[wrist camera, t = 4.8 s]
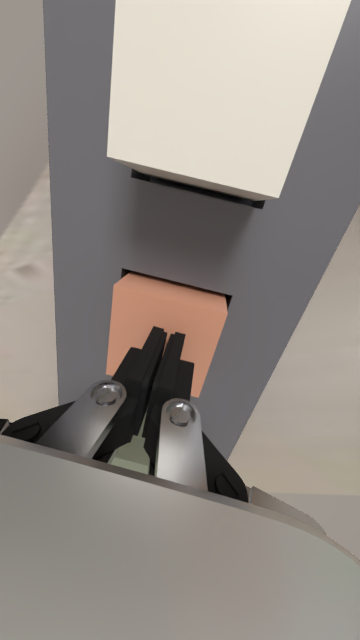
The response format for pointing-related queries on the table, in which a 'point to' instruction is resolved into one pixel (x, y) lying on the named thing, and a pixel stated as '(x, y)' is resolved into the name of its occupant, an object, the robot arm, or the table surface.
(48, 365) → the table surface
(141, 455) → the sage key
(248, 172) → the cream key
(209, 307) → the terracotta key
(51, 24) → the key console
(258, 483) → the table surface
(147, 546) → the robot arm
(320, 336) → the table surface
